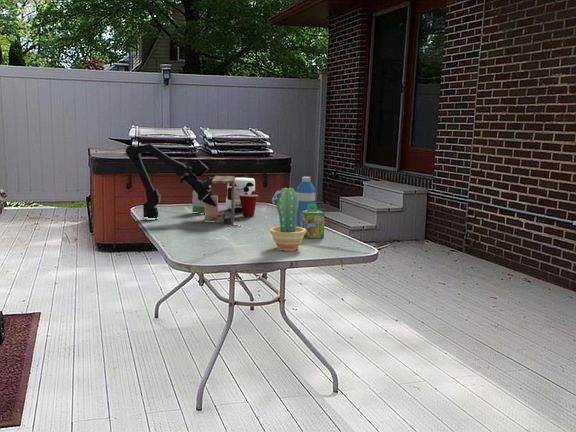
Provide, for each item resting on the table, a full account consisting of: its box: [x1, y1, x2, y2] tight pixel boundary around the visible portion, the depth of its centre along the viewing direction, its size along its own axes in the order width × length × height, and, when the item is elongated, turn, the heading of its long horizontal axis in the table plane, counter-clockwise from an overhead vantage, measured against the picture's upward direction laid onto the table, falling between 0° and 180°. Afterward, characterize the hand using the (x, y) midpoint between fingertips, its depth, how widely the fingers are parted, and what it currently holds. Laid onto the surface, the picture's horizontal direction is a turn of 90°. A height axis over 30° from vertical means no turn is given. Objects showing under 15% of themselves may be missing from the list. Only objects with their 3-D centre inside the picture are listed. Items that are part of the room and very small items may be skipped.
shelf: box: [204, 175, 236, 226], centre depth 300 cm, size 14×24×22 cm, turn 4°
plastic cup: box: [239, 194, 259, 218], centre depth 315 cm, size 11×11×12 cm
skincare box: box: [191, 185, 212, 213], centre depth 321 cm, size 8×7×16 cm
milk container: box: [225, 177, 256, 212], centre depth 333 cm, size 17×17×18 cm
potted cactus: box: [269, 187, 307, 252], centre depth 239 cm, size 15×15×25 cm
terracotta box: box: [205, 195, 219, 217], centre depth 301 cm, size 6×6×12 cm
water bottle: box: [295, 176, 317, 227], centre depth 283 cm, size 9×9×25 cm
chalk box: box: [300, 203, 326, 239], centre depth 265 cm, size 9×9×15 cm
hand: (216, 204), depth 300 cm, fingers open, 9 cm apart
